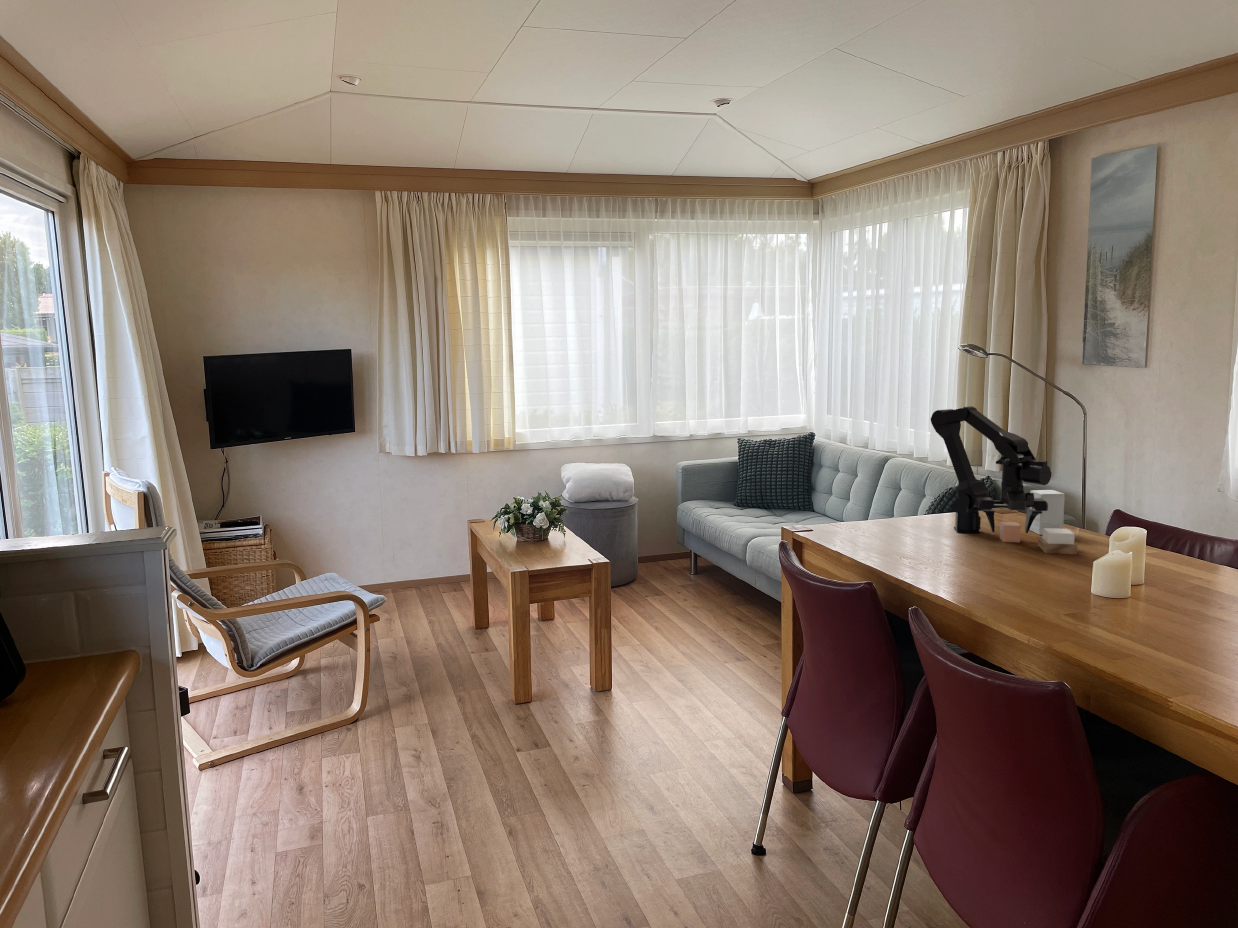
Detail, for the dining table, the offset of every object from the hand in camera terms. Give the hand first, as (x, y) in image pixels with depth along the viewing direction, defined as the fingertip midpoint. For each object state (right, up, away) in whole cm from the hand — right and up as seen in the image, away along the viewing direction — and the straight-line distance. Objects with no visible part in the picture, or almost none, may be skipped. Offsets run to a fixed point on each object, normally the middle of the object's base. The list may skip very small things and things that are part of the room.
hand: (1009, 532), depth 254 cm
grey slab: (+8, -1, -13) cm, 15 cm away
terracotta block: (0, -2, 0) cm, 2 cm away
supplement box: (+15, -1, +9) cm, 18 cm away
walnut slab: (+8, -4, -12) cm, 15 cm away
